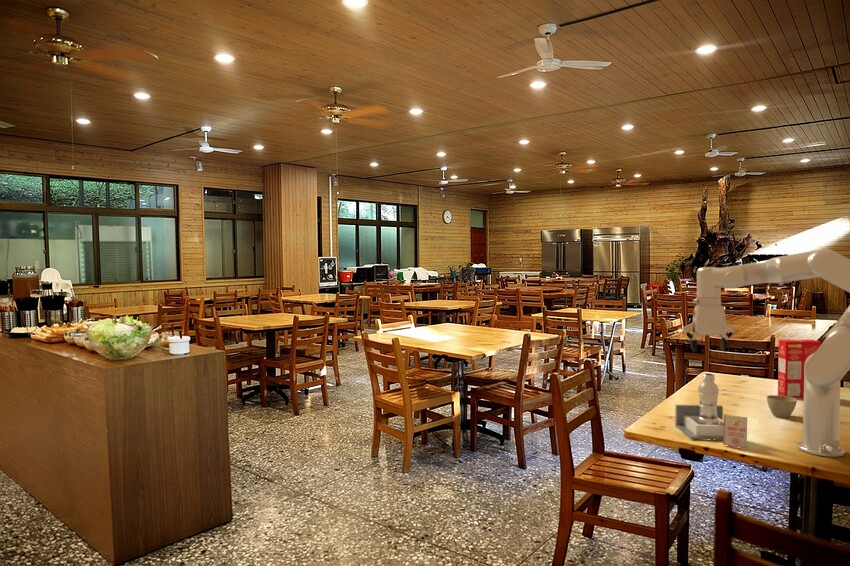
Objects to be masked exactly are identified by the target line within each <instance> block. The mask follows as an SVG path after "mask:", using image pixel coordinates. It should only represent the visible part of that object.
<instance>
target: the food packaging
mask: <svg viewBox="0 0 850 566" xmlns="http://www.w3.org/2000/svg"><path fill="white" fill-rule="evenodd" d="M820 346H821V341H820V340H817V339H816V340H815V339H778V356H777V357H778V364H777V366H778V368H777V369H778V371H777V395H779V396H787V397H792V398H804V364H805V361H806V359H807V358H808V357H809V356H810V355H811V354H813V353H815V352H816V351H817V350H818V348H819V347H820Z"/></svg>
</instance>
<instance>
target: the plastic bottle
mask: <svg viewBox="0 0 850 566" xmlns="http://www.w3.org/2000/svg"><path fill="white" fill-rule="evenodd" d="M701 379H702V382H701V383H699V385H698V387H697V391H698V399H699V405H700V411H699V417H698V424H699V425H719V422H718V418H717V405H718V398H719V391H720V390H719V387H718V385H717V384H716V383H715V380H716V379H715V374H713V373H702V378H701Z"/></svg>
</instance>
